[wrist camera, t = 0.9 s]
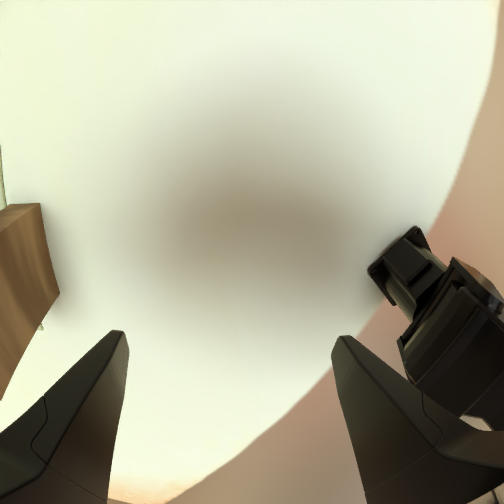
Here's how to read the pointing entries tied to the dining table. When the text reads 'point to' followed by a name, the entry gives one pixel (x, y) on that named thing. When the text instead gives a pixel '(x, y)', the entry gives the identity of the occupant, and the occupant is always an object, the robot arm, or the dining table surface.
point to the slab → (22, 283)
